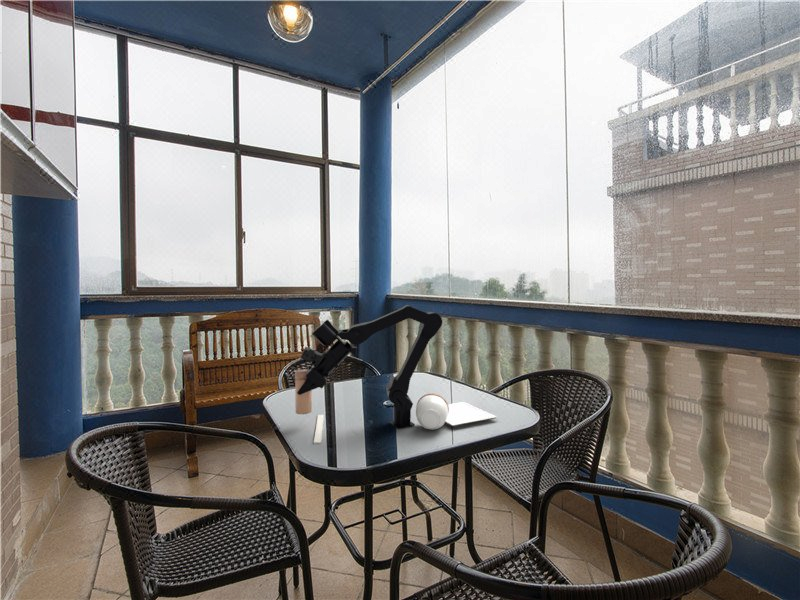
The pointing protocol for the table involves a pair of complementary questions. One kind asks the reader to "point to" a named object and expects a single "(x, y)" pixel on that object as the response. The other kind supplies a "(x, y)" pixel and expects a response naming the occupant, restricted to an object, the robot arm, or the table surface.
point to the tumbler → (304, 399)
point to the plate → (466, 414)
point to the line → (319, 429)
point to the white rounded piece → (432, 411)
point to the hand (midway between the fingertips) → (299, 391)
